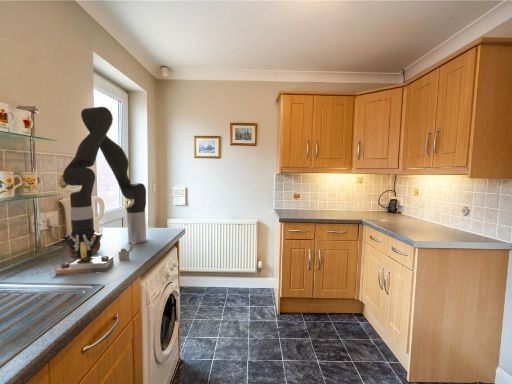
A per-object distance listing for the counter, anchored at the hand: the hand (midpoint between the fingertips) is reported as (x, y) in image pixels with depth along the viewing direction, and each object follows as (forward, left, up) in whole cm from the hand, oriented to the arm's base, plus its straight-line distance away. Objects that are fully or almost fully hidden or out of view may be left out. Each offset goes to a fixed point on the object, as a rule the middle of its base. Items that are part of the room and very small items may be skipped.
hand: (85, 258), depth 103 cm
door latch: (0, 0, -5) cm, 5 cm away
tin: (-17, -8, -5) cm, 19 cm away
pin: (0, 0, -2) cm, 2 cm away
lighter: (-10, +13, -5) cm, 17 cm away
